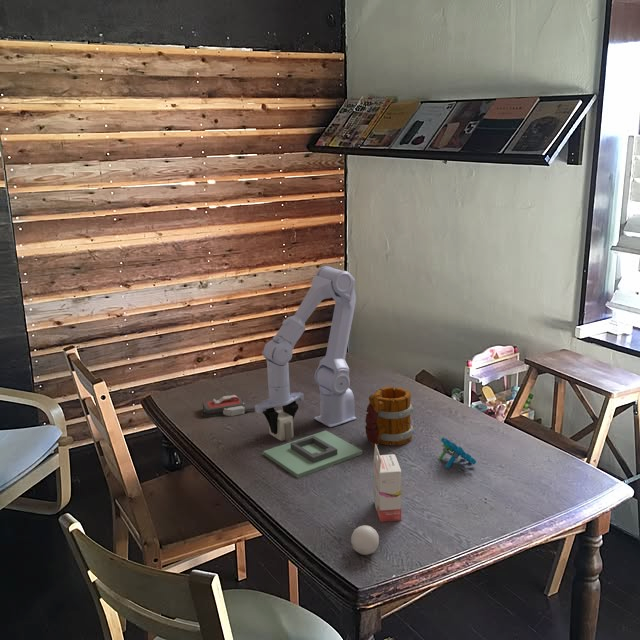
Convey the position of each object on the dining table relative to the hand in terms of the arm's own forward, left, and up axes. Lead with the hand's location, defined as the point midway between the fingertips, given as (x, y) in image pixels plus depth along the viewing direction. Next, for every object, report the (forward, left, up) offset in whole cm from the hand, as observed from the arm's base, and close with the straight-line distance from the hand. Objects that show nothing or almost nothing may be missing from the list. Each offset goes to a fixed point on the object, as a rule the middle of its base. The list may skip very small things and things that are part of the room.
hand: (281, 430), depth 197 cm
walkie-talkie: (+1, -24, -2) cm, 24 cm away
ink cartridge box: (+3, +48, -2) cm, 48 cm away
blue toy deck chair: (-25, +42, -2) cm, 49 cm away
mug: (-20, +21, -2) cm, 29 cm away
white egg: (+16, +56, -2) cm, 58 cm away
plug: (0, 0, -1) cm, 1 cm away
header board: (0, +15, -1) cm, 15 cm away
